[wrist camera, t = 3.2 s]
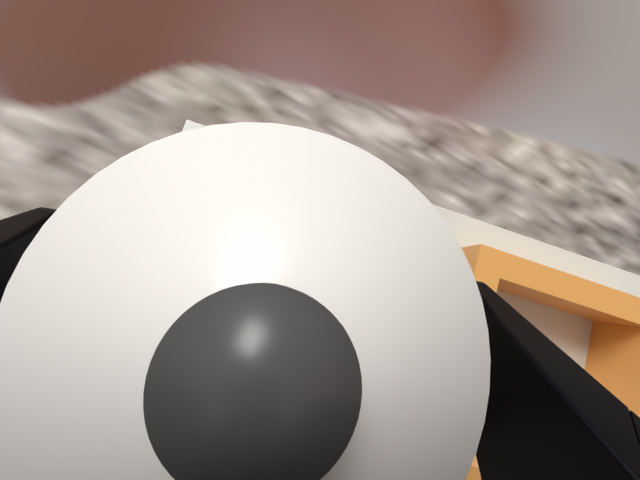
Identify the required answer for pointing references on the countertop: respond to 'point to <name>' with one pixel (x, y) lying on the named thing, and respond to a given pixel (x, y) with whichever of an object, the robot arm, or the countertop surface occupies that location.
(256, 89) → the countertop surface
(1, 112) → the countertop surface
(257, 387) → the white bottle
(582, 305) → the dock
